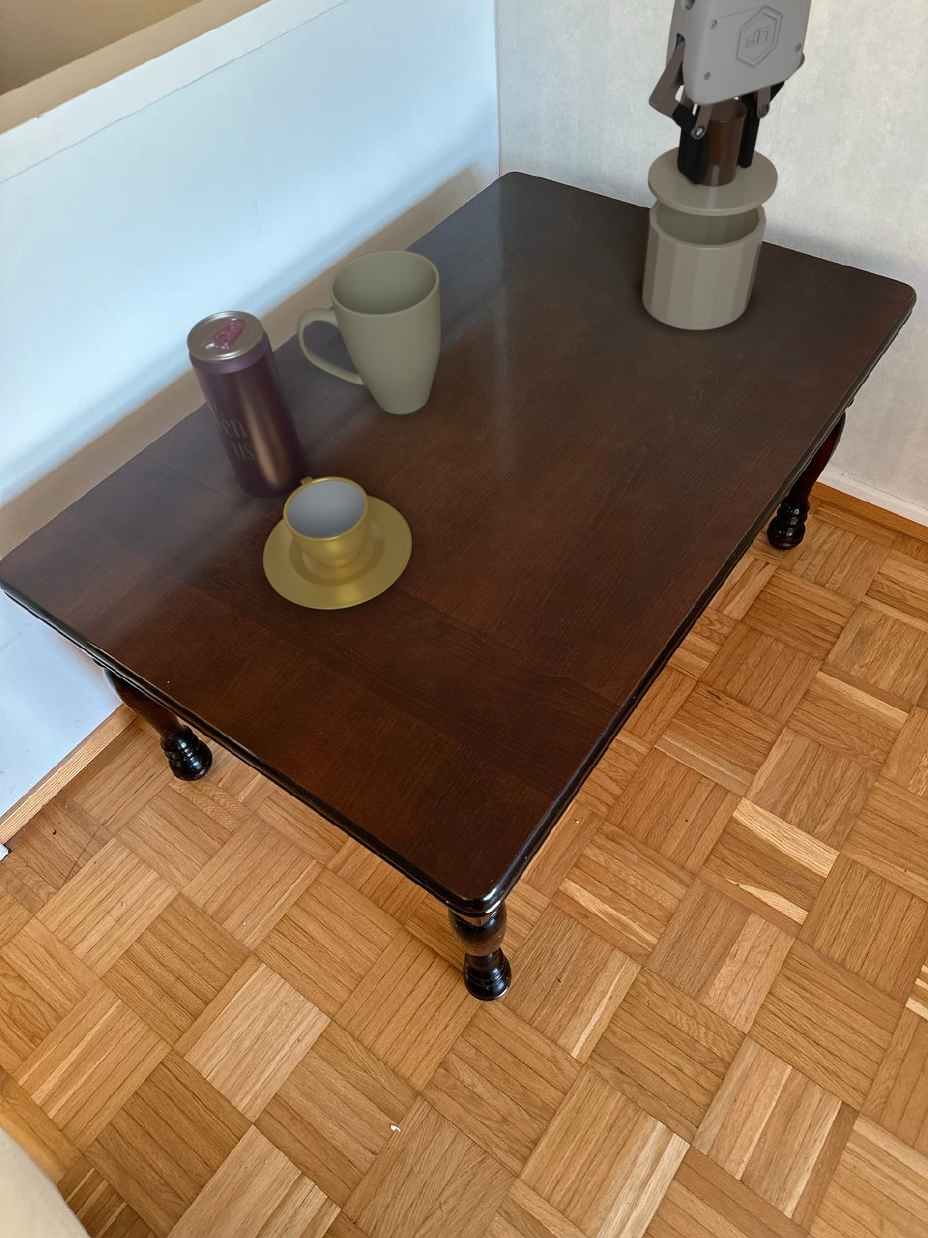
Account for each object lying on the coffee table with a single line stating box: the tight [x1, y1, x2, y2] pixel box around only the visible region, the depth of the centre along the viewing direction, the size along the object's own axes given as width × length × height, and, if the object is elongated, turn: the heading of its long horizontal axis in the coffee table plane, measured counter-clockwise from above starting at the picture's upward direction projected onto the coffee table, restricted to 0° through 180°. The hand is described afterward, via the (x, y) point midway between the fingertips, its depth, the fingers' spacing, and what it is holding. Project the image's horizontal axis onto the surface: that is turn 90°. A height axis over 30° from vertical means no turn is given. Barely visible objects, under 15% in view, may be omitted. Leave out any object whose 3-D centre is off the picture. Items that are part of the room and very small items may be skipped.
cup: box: [262, 476, 413, 610], centre depth 71 cm, size 12×12×5 cm
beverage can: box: [186, 310, 308, 502], centre depth 72 cm, size 6×6×15 cm
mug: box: [296, 249, 442, 415], centre depth 78 cm, size 11×10×12 cm
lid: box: [647, 98, 779, 216], centre depth 77 cm, size 11×11×7 cm
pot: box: [641, 198, 767, 331], centre depth 85 cm, size 10×10×8 cm
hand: (714, 166), depth 78 cm, fingers closed on lid, 4 cm apart
